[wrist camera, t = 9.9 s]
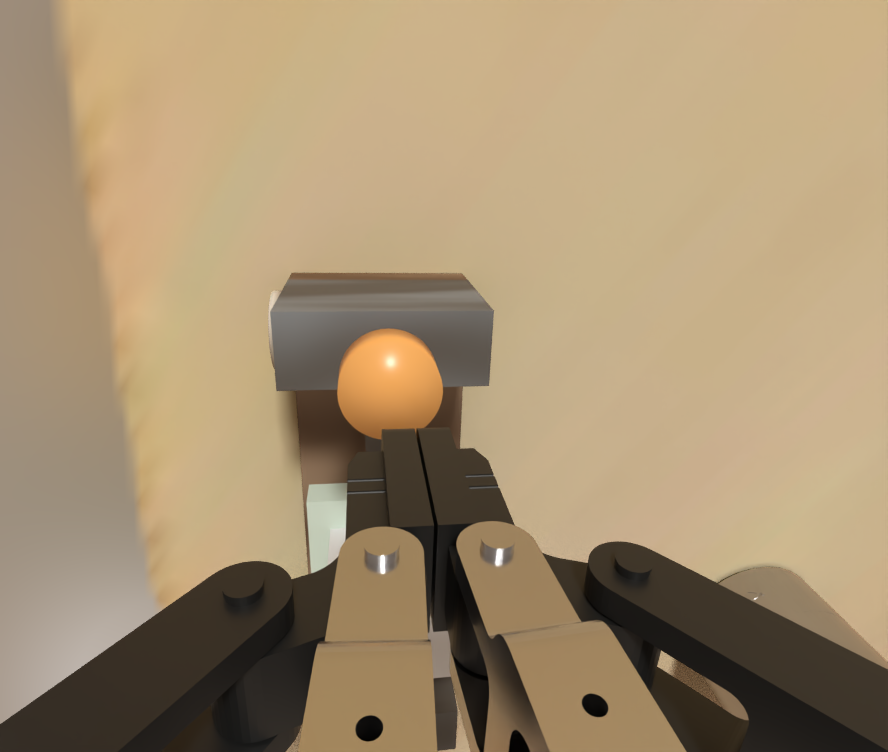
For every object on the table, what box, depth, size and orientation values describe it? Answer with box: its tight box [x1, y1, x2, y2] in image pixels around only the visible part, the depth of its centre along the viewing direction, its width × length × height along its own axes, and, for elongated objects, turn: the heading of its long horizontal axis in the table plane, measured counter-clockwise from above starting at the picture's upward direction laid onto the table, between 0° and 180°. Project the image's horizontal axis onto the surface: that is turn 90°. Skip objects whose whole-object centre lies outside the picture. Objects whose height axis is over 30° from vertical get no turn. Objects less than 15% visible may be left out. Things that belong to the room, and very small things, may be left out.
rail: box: [268, 273, 494, 751], centre depth 28 cm, size 27×8×7 cm, turn 178°
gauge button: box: [337, 328, 443, 439], centre depth 18 cm, size 3×3×2 cm
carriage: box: [306, 483, 451, 678], centre depth 25 cm, size 6×7×8 cm
